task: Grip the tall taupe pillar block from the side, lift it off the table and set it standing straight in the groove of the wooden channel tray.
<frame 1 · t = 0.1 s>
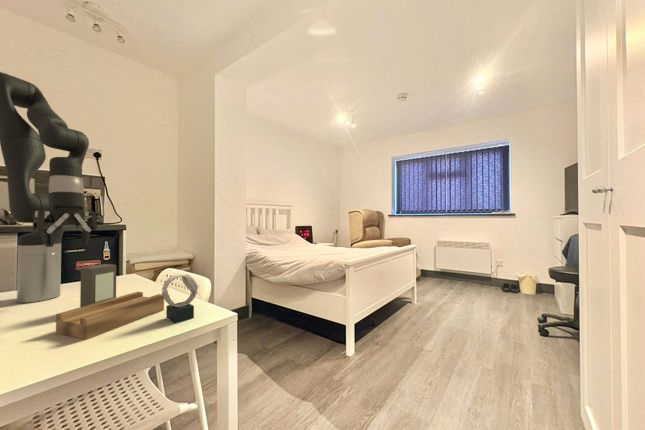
hand: (68, 245, 76), 17 cm above the table, tool pointing down, fingers open, 8 cm apart
tall taupe pillar block: (98, 309, 70), on the table
watch: (180, 318, 64), on the table
wooden channel tray: (116, 320, 63), on the table
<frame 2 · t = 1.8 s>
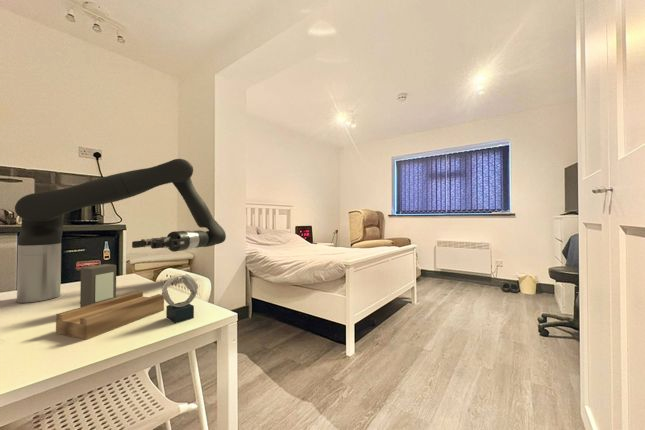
hand: (142, 245, 82), 17 cm above the table, tool horizontal, fingers open, 8 cm apart
nothing on the table moved.
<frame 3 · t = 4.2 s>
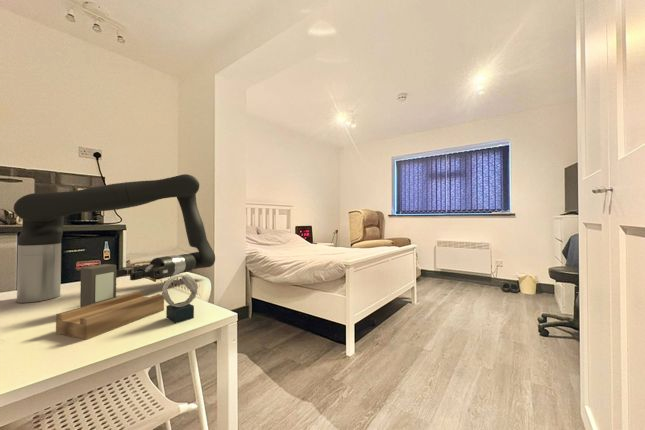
hand: (120, 276, 76), 8 cm above the table, tool horizontal, fingers open, 8 cm apart
nothing on the table moved.
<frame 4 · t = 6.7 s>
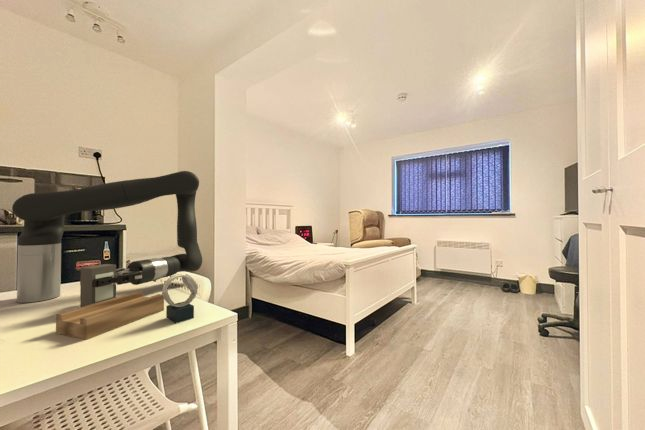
hand: (87, 282, 68), 8 cm above the table, tool horizontal, fingers closed on tall taupe pillar block, 4 cm apart
tall taupe pillar block: (98, 309, 70), on the table, touching gripper
everything else where it was.
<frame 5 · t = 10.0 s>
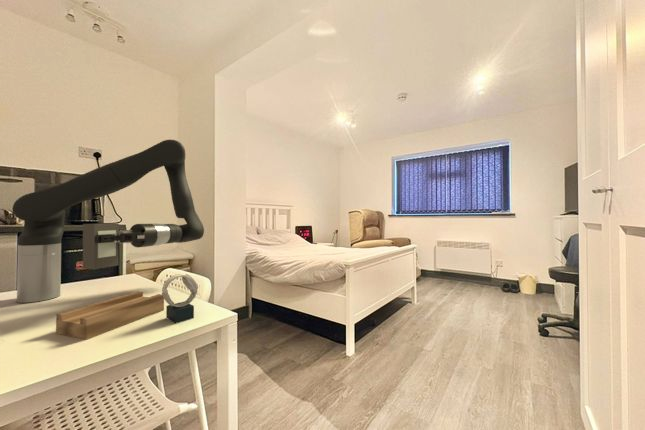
hand: (90, 238, 68), 20 cm above the table, tool horizontal, fingers closed on tall taupe pillar block, 4 cm apart
tall taupe pillar block: (101, 266, 70), point 12 cm above the table, touching gripper
everything else where it was.
when the fingers open (12 cm above the table, at t = 13.4 s): tall taupe pillar block stays where it is, resting on wooden channel tray.
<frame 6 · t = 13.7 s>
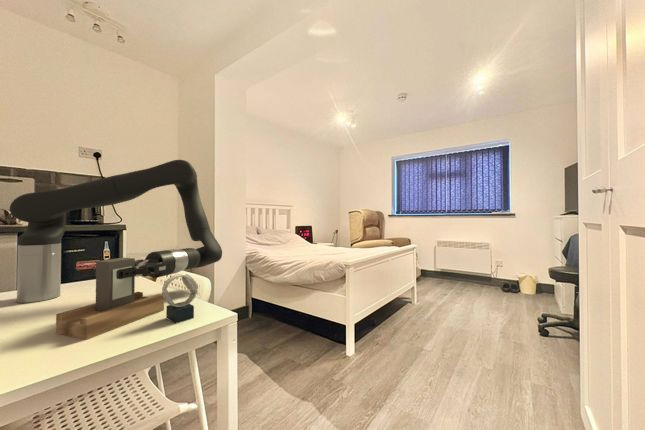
hand: (106, 273, 61), 12 cm above the table, tool horizontal, fingers open, 7 cm apart
tall taupe pillar block: (115, 307, 63), point 3 cm above the table, touching wooden channel tray
everything else where it was.
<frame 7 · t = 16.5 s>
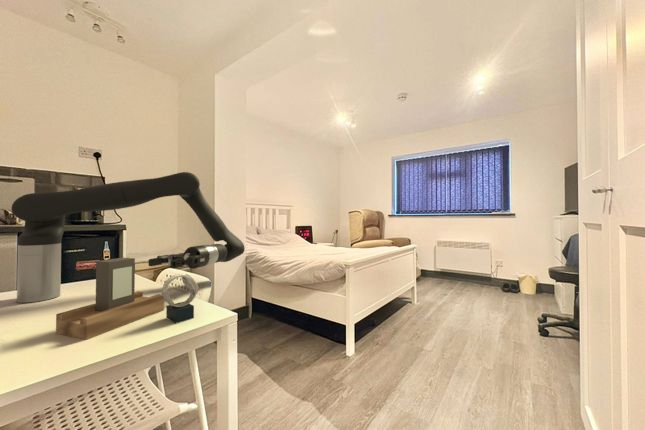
hand: (160, 263, 74), 12 cm above the table, tool horizontal, fingers open, 8 cm apart
nothing on the table moved.
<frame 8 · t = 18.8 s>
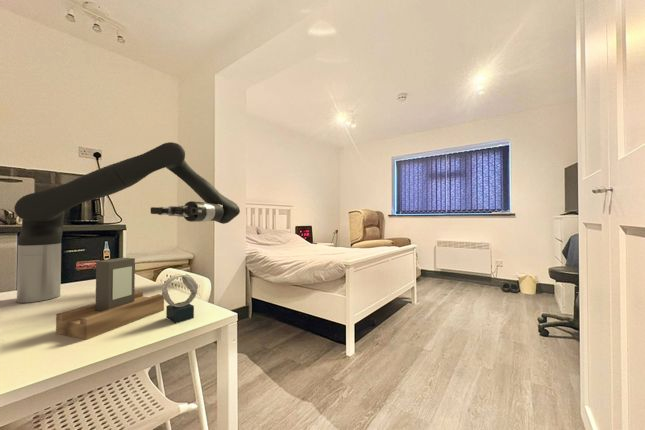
hand: (161, 210, 81), 28 cm above the table, tool horizontal, fingers open, 8 cm apart
nothing on the table moved.
at the end: tall taupe pillar block inside the target area on the wooden channel tray (0.3 cm from its centre), point 3.0 cm above the wooden channel tray's base; tall taupe pillar block tilted 0°; the gripper is holding nothing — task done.
